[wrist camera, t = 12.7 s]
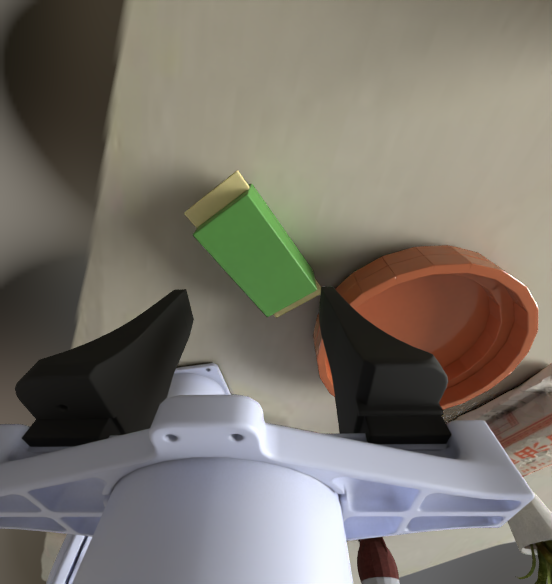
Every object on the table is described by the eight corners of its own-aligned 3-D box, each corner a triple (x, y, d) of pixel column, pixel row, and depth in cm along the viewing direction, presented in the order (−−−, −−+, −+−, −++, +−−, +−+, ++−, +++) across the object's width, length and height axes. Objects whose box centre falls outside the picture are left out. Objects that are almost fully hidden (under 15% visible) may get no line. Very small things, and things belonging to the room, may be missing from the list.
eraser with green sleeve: (276, 306, 23) (276, 328, 21) (190, 206, 19) (177, 219, 16) (321, 281, 22) (326, 301, 20) (240, 166, 17) (234, 174, 15)
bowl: (322, 394, 30) (327, 424, 27) (301, 262, 21) (304, 285, 18) (481, 376, 28) (505, 406, 25) (531, 222, 19) (577, 242, 16)
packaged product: (486, 504, 34) (430, 485, 31) (464, 462, 38) (413, 443, 35) (656, 438, 25) (599, 403, 23) (604, 393, 29) (550, 359, 27)
